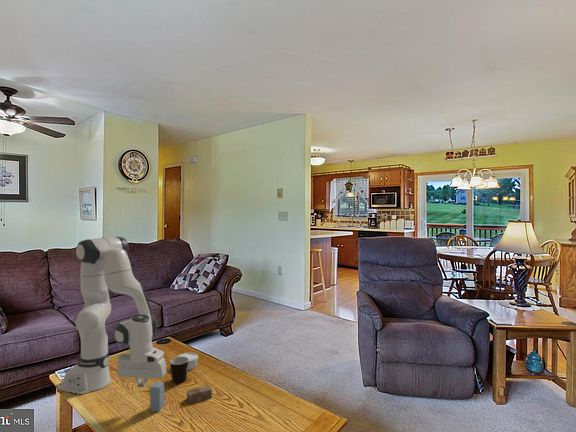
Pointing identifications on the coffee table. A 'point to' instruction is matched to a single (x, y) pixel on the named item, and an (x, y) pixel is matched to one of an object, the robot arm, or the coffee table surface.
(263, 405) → the coffee table surface
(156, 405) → the slate block
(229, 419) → the coffee table surface
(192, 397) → the walnut block
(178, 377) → the coffee mug
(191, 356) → the ramekin
